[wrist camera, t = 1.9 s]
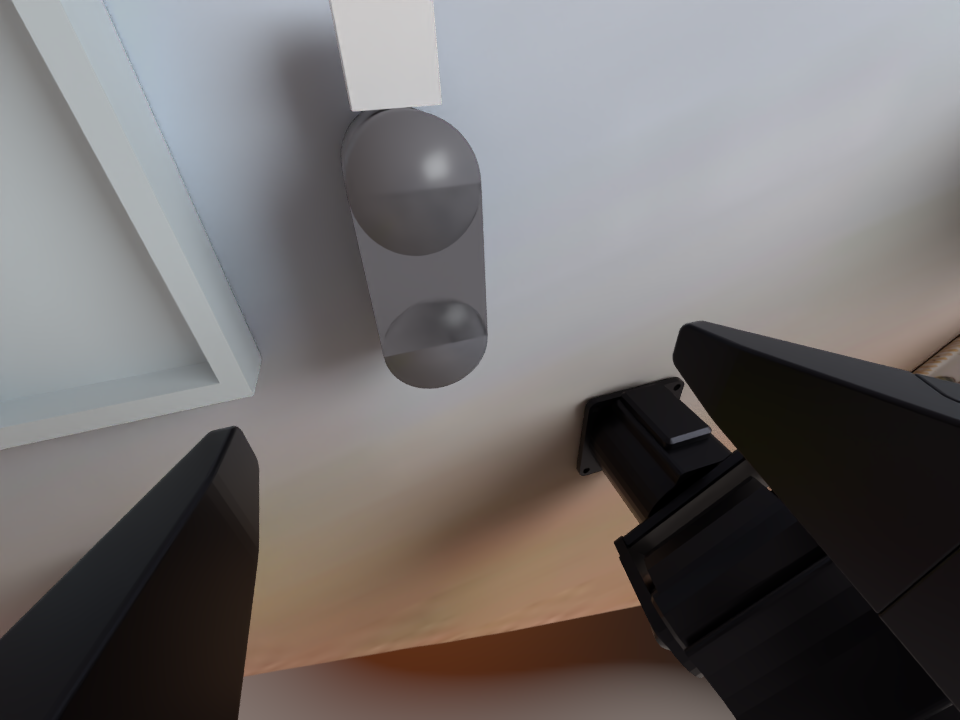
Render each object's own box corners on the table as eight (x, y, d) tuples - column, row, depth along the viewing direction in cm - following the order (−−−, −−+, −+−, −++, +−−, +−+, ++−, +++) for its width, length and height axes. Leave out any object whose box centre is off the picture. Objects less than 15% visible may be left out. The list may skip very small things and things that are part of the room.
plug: (460, 324, 18) (489, 376, 15) (380, 341, 18) (393, 398, 14) (433, 2, 12) (472, -26, 9) (305, 4, 11) (297, -24, 8)
